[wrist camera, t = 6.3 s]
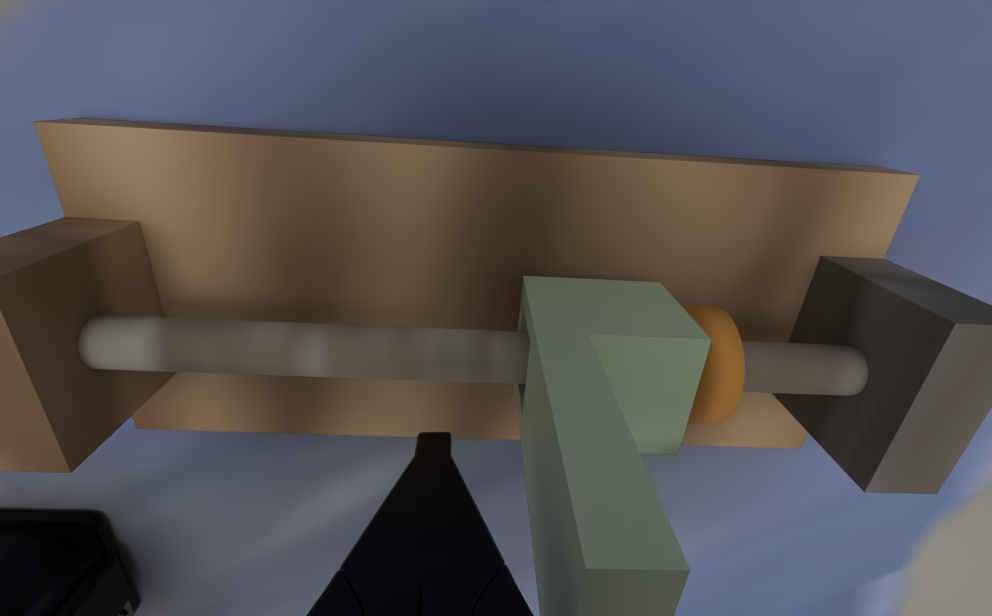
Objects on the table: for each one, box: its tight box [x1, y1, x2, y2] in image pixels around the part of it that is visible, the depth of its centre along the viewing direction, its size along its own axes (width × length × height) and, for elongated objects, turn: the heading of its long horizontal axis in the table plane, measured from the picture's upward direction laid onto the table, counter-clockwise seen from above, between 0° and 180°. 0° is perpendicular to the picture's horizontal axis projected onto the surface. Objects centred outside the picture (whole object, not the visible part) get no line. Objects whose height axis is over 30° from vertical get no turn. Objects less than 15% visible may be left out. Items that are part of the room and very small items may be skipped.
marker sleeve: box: [515, 276, 712, 616], centre depth 10 cm, size 4×3×9 cm
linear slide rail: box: [0, 118, 992, 494], centre depth 13 cm, size 24×10×6 cm, turn 87°
